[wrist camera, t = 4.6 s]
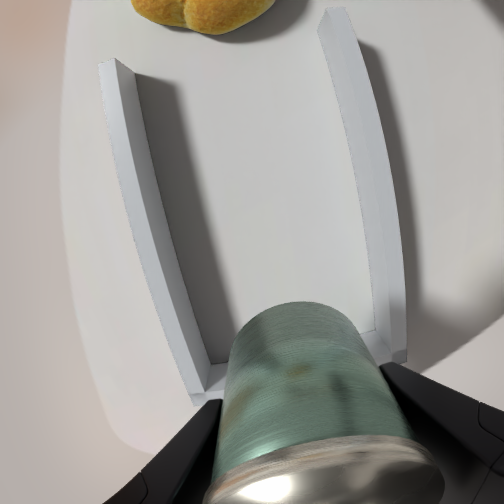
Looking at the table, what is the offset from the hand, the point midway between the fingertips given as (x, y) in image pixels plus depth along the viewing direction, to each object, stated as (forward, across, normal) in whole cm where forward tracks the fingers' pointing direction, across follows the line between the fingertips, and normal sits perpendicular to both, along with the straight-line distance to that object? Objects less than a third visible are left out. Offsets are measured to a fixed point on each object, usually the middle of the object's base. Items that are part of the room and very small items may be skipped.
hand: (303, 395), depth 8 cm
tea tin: (+2, 0, 0) cm, 2 cm away
